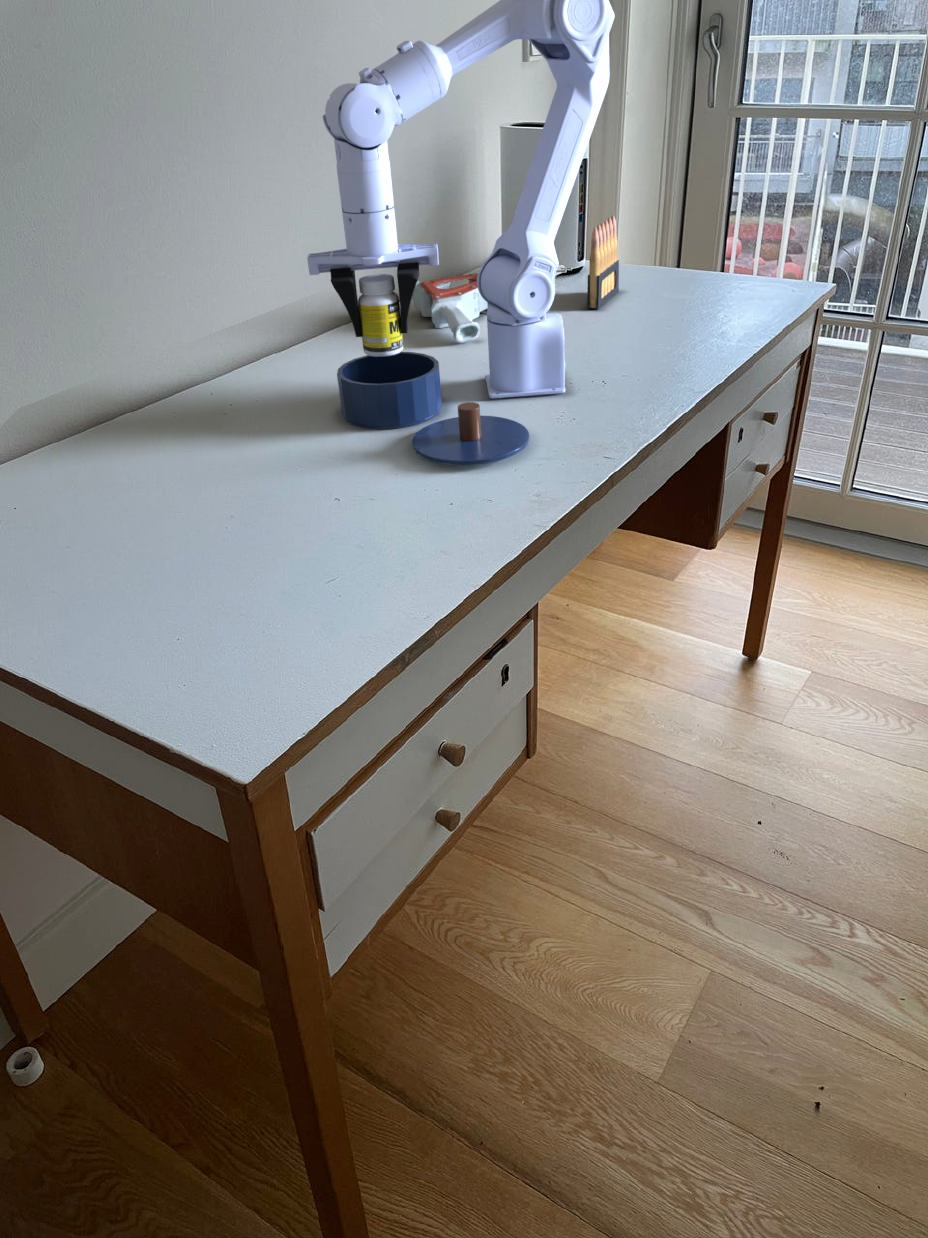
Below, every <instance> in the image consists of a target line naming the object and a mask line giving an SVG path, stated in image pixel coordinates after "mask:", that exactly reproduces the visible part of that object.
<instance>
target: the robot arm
mask: <svg viewBox="0 0 928 1238" xmlns="http://www.w3.org/2000/svg"><path fill="white" fill-rule="evenodd" d="M615 15H616V14H615V12H614V10H613V7H612V5H611V3H610V1H609V0H498V1H497V2H495V3H494V4H492V5H491V6H490V7H488V8H487V9H486V10H484V11H483V12H481V13H480V14H478V15H477V16H476V17H474V18H472V20H469V21H468V22H467V23H466V24H464V25H462V26H461V27H460V28H458V29H457V30H456V31H454V32H453V33H451V34H450V35H448V36H447V37H446V38H444V39H443V40H442V41H440V42H438V43H437V44H436V45H434V44H431V43H429V42H426V41H424V40H417V41H414V43H412V41H411V40H404V41H402V42H400V43H399V44H398V45H396V50H397V52H398V53H396V54H395V55H393V56H392V57H390V58H388V59H387V60H385V61H383V62H382V63H380V64H379V65H377V66H375V67H374V68H373V69H370V67H364V68H363V69H361V70H360V71H358V75H359V77H360V78H359V83H353V82H347V83H342V84H340V85H339V86H337V87H335V88H334V89H333V90H332V92H331V93H330V94H329V98H328V99H326V104H325V110H324V111H325V112H324V114H323V115H322V120H323V125H324V127H325V129H326V131H327V132H328V133H329V135H330V136H331V138H333V142H334V149H335V150H334V151H335V158H336V173H337V181H338V191H339V198H340V207H341V213H342V214H341V215H342V222H343V229H344V230H343V231H344V237H345V246H346V248H342V249H336V250H335V249H334V250H330V251H329V250H328V251H322V252H313V253H308V255H307V257H306V259H307V267H308V274H309V276H318V275H320V274H325V273H330V283H331V285H332V287H333V288H334V290H335V292H336V293H337V295H338V296H339V298H340V300H341V301H342V304H343V305H344V307H345V309H346V311H347V314H348V316H349V320H350V321H351V325H352V327H353V329H354V330H353V331H354V334H355V338H362V330H361V323H360V315H359V306H358V293H357V281H356V271H363V270H374V269H375V270H376V269H377V270H378V269H389V268H397V269H396V278H397V286H398V288H397V289H398V297H399V306H400V316H401V333H402V335H403V334H408V333H409V330H408V329H409V328H408V324H409V323H408V322H409V313H410V308H411V303H412V301H413V292H414V289H415V286H416V283H417V281H419V277H420V266H427V265H428V266H430V267H435V266H436V267H437V266H439V265H440V259H439V248H438V243H427V244H399V243H398V233H397V223H396V212H395V202H394V193H393V192H394V190H393V182H392V181H393V180H392V173H391V172H392V171H391V161H390V154H389V147H388V140H389V139H390V137H391V135H392V133H393V132H394V131H393V130H394V127H399V126H400V125H401V124H403V123H405V122H406V121H408V120H409V119H410V118H412V117H414V116H415V115H417V114H419V113H421V112H422V111H424V110H425V109H427V108H428V107H429V106H431V105H432V104H434V103H436V102H437V101H439V100H441V99H442V98H443V97H445V96H446V95H447V94H448V90H449V87H450V83H451V79H452V77H453V76H454V75H455V74H457V73H459V72H461V71H463V70H464V69H466V68H468V67H469V66H471V65H473V64H475V63H477V62H479V61H480V60H482V59H484V58H485V57H487V56H489V55H491V54H492V53H494V52H496V51H498V50H499V49H501V48H503V47H505V46H506V45H508V44H511V43H512V42H514V41H516V40H528V42H530V43H531V45H532V46H533V47H534V48H535V49H536V51H537V52H538V54H540V55H541V56H542V57H543V58H544V60H545V61H546V63H547V65H548V67H549V69H550V72H551V74H552V77H553V78H554V80H555V83H556V89H555V90H554V91H555V92H554V94H553V96H552V100H551V103H550V106H549V109H548V112H547V115H546V118H545V122H544V124H543V127H542V130H541V133H540V136H539V139H538V142H537V146H536V148H535V151H534V154H533V157H532V161H531V163H530V167H529V169H528V173H527V175H526V178H525V182H524V184H523V188H522V190H521V194H520V197H519V200H518V203H517V206H516V209H515V211H514V214H513V217H512V221H511V224H510V226H509V227H508V228H507V229H506V230H505V231H504V232H503V233H502V234H501V235H500V236H499V237H498V238H497V239H496V241H495V244H494V246H493V249H492V251H491V253H490V255H489V256H488V257H487V258H486V259H485V260H484V261H483V263H482V264H481V266H480V268H479V269H478V272H477V273H478V277H477V286H478V290H479V293H480V295H481V296H482V298H483V299H484V300H485V301H486V302H487V304H488V310H487V314H486V325H487V326H486V328H487V347H488V368H489V370H488V371H489V374H488V373H487V374H485V376H484V377H485V378H484V379H485V383H486V388H487V393H488V398H489V399H503V398H515V397H518V398H519V397H529V396H542V395H554V394H555V395H556V394H564V393H566V387H565V385H566V382H565V379H566V377H565V374H566V360H565V330H564V321H563V316H562V314H561V313H549V312H548V311H549V310H550V309H551V306H552V305H553V303H554V300H555V295H556V288H555V287H556V284H555V278H556V273H557V270H558V267H559V265H560V263H559V259H558V255H557V251H556V247H555V243H554V242H555V239H556V236H557V233H558V231H559V227H560V225H561V222H562V219H563V216H564V213H565V210H566V208H567V204H568V202H569V198H570V196H571V194H572V190H573V187H574V185H575V181H576V180H577V179H576V178H577V176H578V174H579V170H580V167H581V165H582V162H583V159H584V156H585V153H586V150H587V147H588V145H589V142H590V139H591V137H592V133H593V131H594V127H595V124H596V122H597V120H598V119H597V118H598V116H599V114H600V111H601V108H602V106H603V105H602V104H603V101H604V100H605V96H606V94H607V90H608V87H609V83H610V75H611V73H610V32H611V30H612V26H613V23H614V20H615V17H616V16H615Z"/></svg>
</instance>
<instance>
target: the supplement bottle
mask: <svg viewBox="0 0 928 1238" xmlns="http://www.w3.org/2000/svg"><path fill="white" fill-rule="evenodd" d="M358 286H359V287H358V288H359V293H360V294H361V295H359V297H358V298H357V300H358V306H359V315H360V323H361V330H362V337H361V341H362V349H363V353H364V354H365V356H366V355H369V356H373V357H384V356H392V355H395V354H398V353H400V352H403V350H404V339H403V334H402V333H401V308H400V297H399V294H398V293H396V292H395V290H396V283H395V278H394V275H392V274H387V273H376V274H369V275H365V276H362V277H360V278H359V279H358Z"/></svg>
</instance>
